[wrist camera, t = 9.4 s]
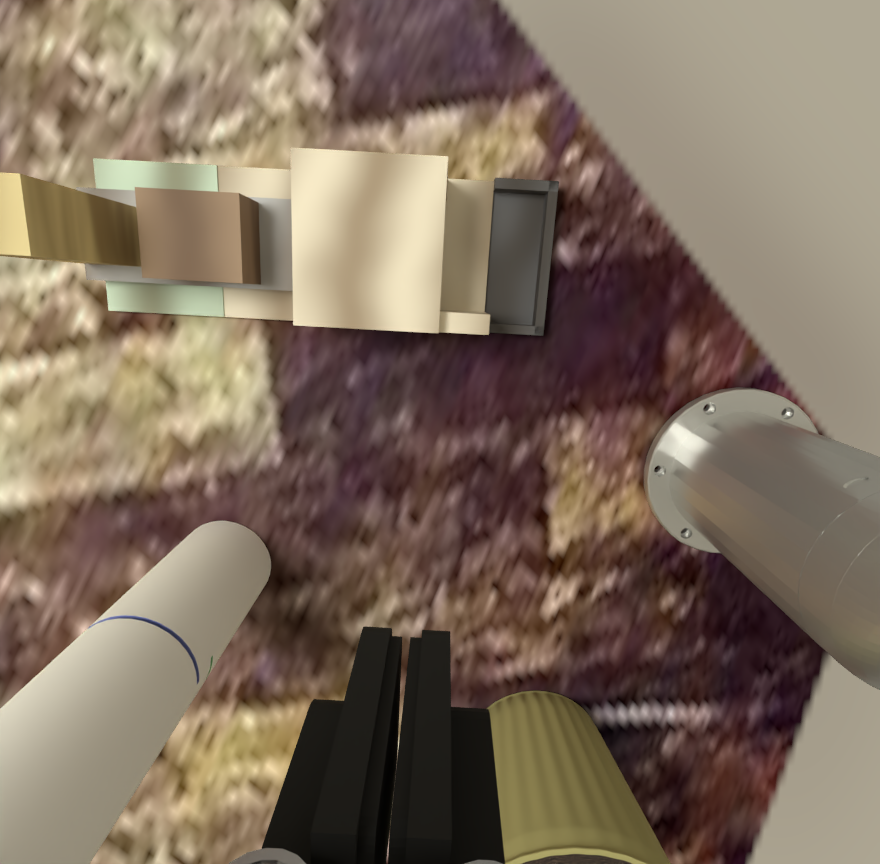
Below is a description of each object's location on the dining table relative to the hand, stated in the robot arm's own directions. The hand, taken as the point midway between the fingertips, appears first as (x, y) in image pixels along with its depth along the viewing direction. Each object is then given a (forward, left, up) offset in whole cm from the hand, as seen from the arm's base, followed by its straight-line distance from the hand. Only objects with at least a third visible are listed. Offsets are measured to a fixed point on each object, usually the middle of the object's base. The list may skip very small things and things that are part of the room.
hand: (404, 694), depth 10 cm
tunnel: (+7, -10, -29) cm, 32 cm away
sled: (+15, -10, -28) cm, 34 cm away
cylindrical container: (+16, +14, -29) cm, 36 cm away
